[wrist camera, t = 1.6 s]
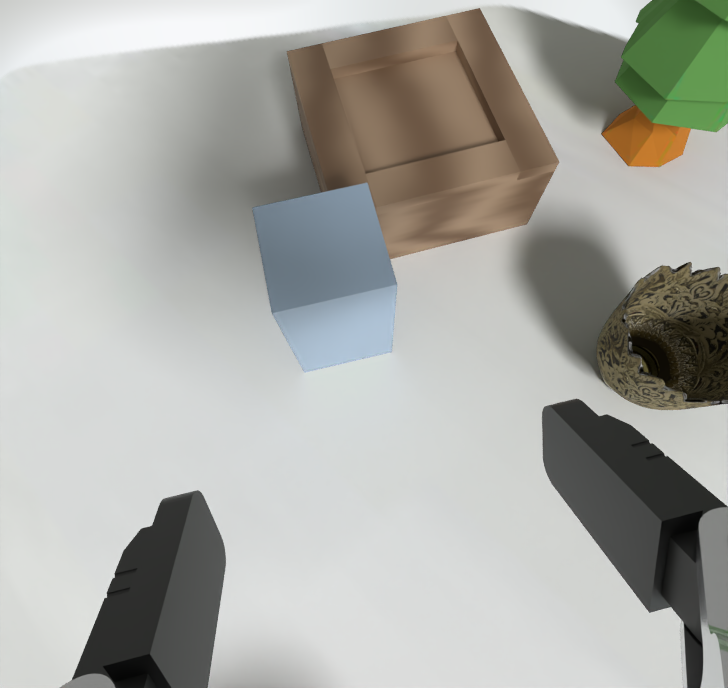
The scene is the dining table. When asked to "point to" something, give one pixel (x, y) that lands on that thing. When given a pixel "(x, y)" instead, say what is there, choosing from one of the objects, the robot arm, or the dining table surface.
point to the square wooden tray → (424, 129)
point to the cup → (669, 340)
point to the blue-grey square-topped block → (328, 276)
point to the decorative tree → (672, 80)
